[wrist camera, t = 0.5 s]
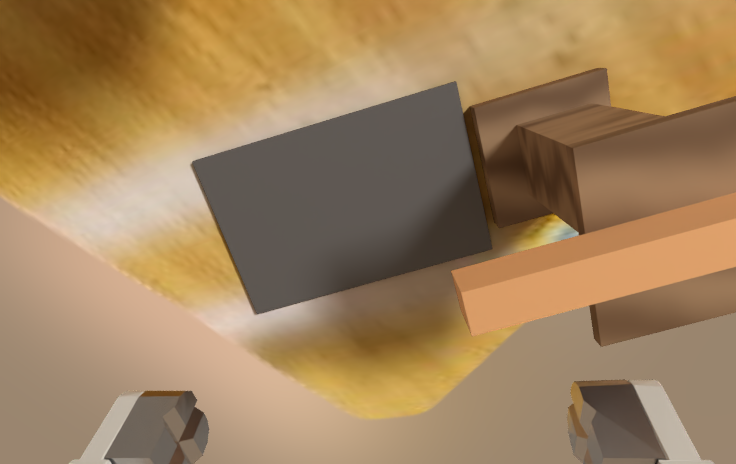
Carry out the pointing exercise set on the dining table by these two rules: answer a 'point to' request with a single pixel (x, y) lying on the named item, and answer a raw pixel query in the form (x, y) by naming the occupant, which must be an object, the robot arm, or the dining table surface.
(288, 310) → the dining table surface
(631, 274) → the orange square bar
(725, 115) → the walnut stand
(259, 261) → the rubber mat
